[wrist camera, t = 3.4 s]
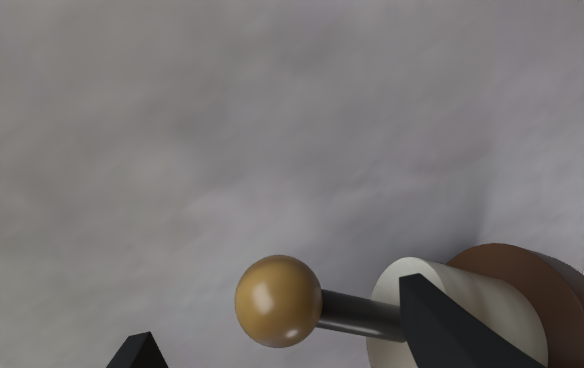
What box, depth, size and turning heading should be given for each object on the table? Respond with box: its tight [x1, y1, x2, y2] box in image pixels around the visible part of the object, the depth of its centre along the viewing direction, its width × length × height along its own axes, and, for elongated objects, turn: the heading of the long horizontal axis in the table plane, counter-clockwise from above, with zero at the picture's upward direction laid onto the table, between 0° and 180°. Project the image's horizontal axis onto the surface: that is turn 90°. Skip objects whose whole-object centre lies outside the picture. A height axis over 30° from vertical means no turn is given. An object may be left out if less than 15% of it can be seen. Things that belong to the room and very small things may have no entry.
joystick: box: [235, 243, 584, 368], centre depth 12 cm, size 11×8×8 cm, turn 69°
